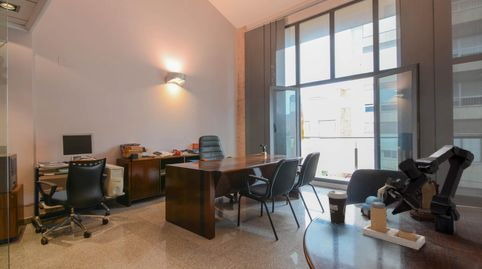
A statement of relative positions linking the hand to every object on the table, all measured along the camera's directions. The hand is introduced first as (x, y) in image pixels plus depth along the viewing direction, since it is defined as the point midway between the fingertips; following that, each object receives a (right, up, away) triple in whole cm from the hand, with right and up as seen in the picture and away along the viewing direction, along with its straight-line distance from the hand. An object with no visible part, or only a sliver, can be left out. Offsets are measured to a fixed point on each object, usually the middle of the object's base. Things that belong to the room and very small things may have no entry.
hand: (386, 210), depth 105 cm
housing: (0, -11, -4) cm, 12 cm away
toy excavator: (+11, -11, +26) cm, 31 cm away
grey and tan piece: (+3, -10, -8) cm, 13 cm away
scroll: (+33, -11, +21) cm, 41 cm away
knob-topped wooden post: (-3, -10, 0) cm, 11 cm away
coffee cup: (-14, -12, +19) cm, 26 cm away
